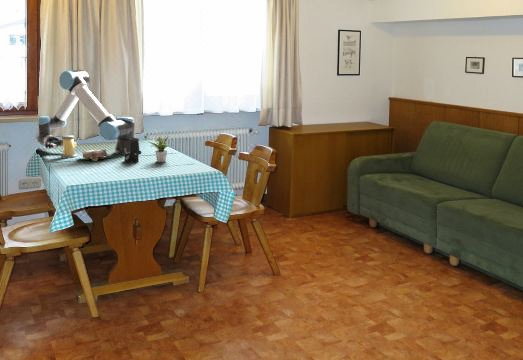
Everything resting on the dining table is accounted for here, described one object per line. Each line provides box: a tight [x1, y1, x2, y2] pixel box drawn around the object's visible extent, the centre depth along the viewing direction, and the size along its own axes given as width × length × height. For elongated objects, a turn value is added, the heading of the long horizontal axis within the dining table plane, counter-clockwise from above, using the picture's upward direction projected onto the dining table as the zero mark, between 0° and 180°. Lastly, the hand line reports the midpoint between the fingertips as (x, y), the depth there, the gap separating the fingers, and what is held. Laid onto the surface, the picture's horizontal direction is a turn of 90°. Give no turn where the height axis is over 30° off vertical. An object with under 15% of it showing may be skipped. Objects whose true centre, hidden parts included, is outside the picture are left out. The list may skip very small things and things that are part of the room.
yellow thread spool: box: [61, 135, 77, 159], centre depth 402 cm, size 9×9×13 cm
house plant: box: [147, 135, 171, 163], centre depth 389 cm, size 14×14×16 cm
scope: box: [123, 137, 142, 164], centre depth 387 cm, size 8×14×10 cm
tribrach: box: [81, 149, 108, 162], centre depth 395 cm, size 14×14×5 cm
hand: (66, 145), depth 403 cm, fingers open, 13 cm apart
